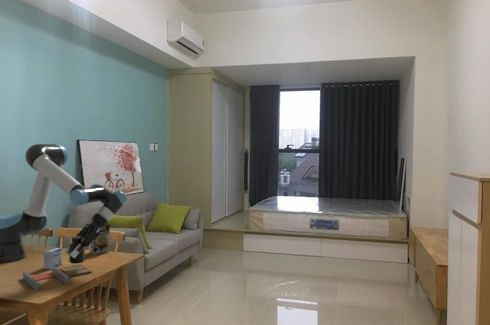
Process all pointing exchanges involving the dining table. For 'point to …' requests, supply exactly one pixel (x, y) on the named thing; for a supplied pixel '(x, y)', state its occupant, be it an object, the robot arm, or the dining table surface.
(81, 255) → the supplement bottle
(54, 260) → the medicine box
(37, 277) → the pad
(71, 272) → the walnut pad
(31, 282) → the channel
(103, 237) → the coffee box
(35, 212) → the robot arm
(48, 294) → the dining table surface
